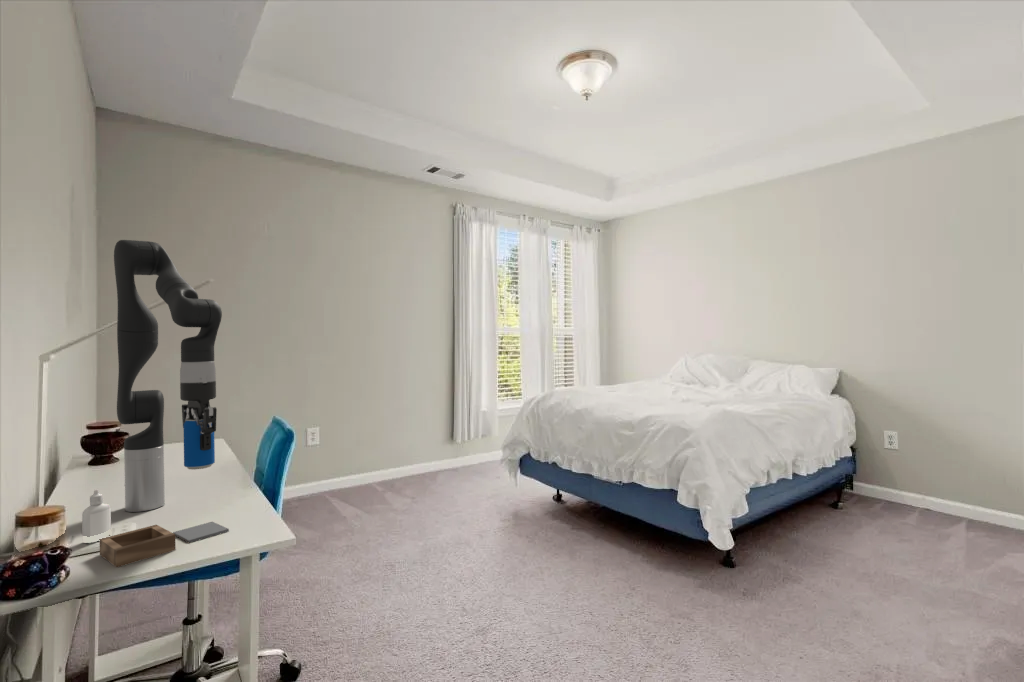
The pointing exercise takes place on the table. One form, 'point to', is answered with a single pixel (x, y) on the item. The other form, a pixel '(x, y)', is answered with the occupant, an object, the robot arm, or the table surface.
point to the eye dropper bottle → (96, 516)
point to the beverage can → (196, 447)
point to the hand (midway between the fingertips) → (199, 447)
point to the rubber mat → (200, 531)
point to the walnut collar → (137, 545)
